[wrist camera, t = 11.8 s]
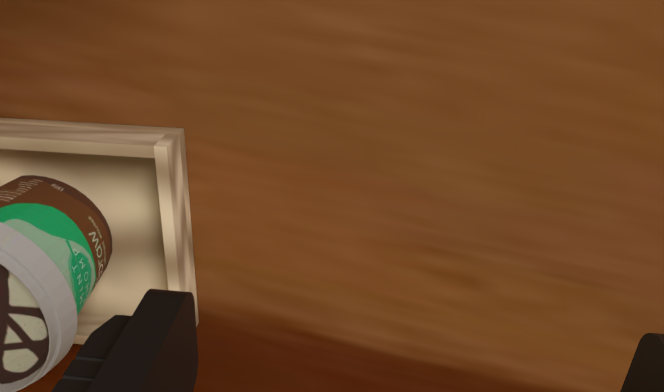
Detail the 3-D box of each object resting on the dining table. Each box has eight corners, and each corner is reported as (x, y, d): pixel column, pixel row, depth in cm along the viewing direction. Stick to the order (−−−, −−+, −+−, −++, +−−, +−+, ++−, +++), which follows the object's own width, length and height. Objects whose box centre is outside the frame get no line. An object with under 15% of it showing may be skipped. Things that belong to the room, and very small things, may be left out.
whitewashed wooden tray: (-49, 114, 39) (-87, 131, 36) (183, 128, 38) (166, 146, 35) (1, 307, 46) (-27, 336, 42) (198, 322, 45) (185, 352, 42)
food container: (148, 299, 43) (89, 398, 34) (72, 304, 44) (-6, 403, 35) (99, 146, 38) (13, 215, 29) (13, 155, 39) (-97, 225, 30)
